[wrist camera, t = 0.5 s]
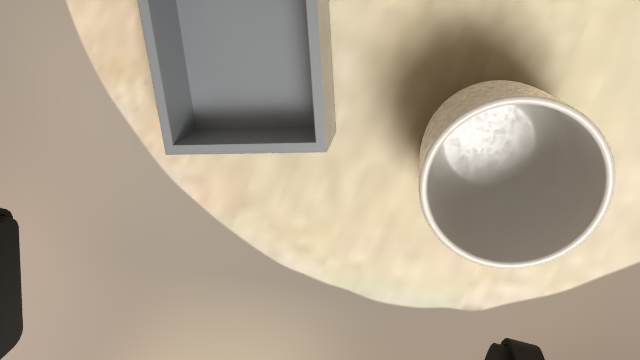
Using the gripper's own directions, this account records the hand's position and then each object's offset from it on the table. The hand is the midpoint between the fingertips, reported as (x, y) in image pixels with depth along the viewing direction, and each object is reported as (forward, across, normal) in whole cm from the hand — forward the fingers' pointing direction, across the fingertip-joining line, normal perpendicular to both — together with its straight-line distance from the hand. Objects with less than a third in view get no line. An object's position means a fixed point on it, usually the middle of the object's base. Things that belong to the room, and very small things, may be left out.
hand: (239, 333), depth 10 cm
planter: (+36, -12, +4) cm, 38 cm away
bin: (+36, +10, +1) cm, 37 cm away
